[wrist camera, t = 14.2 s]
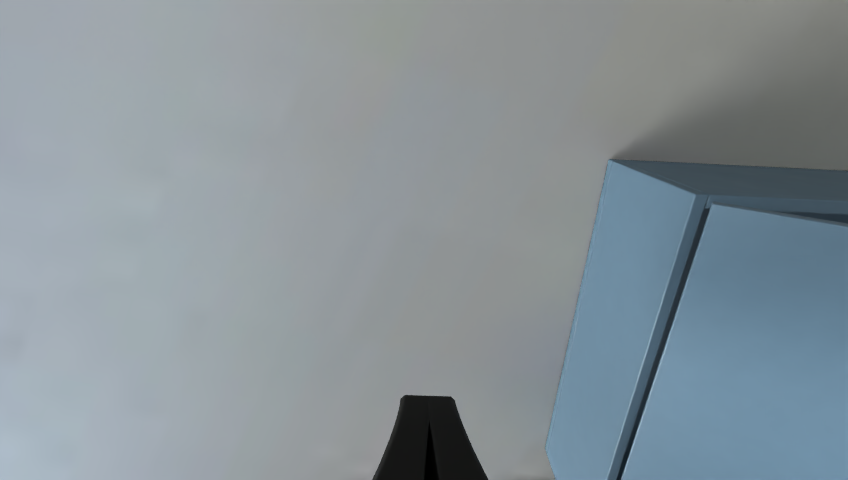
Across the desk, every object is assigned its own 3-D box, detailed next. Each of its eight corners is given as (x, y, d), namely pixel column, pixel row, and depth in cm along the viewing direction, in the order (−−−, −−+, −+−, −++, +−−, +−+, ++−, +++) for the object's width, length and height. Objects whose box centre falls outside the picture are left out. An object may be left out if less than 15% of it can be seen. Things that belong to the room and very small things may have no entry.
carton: (807, 456, 22) (921, 566, 17) (544, 448, 22) (582, 558, 17) (964, 176, 16) (1207, 217, 11) (608, 158, 16) (695, 193, 11)
